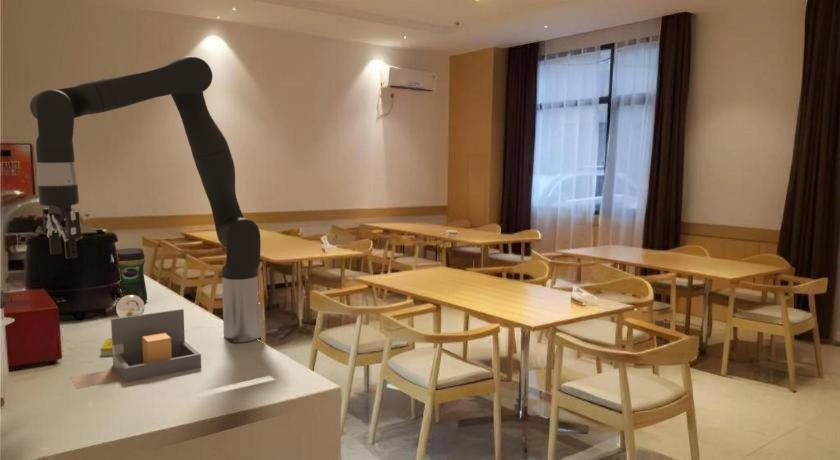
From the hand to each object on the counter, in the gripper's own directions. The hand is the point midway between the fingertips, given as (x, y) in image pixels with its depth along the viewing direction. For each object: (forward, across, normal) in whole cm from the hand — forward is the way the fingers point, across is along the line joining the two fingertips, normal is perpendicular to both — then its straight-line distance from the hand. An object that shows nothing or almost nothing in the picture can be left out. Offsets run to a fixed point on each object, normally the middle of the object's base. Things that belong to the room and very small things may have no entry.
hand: (63, 256), depth 133 cm
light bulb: (+27, +15, -21) cm, 37 cm away
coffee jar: (+28, +54, -39) cm, 72 cm away
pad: (+27, -11, 0) cm, 29 cm away
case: (+27, -14, -13) cm, 33 cm away
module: (+26, -14, -13) cm, 32 cm away
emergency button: (+28, +4, -15) cm, 32 cm away
